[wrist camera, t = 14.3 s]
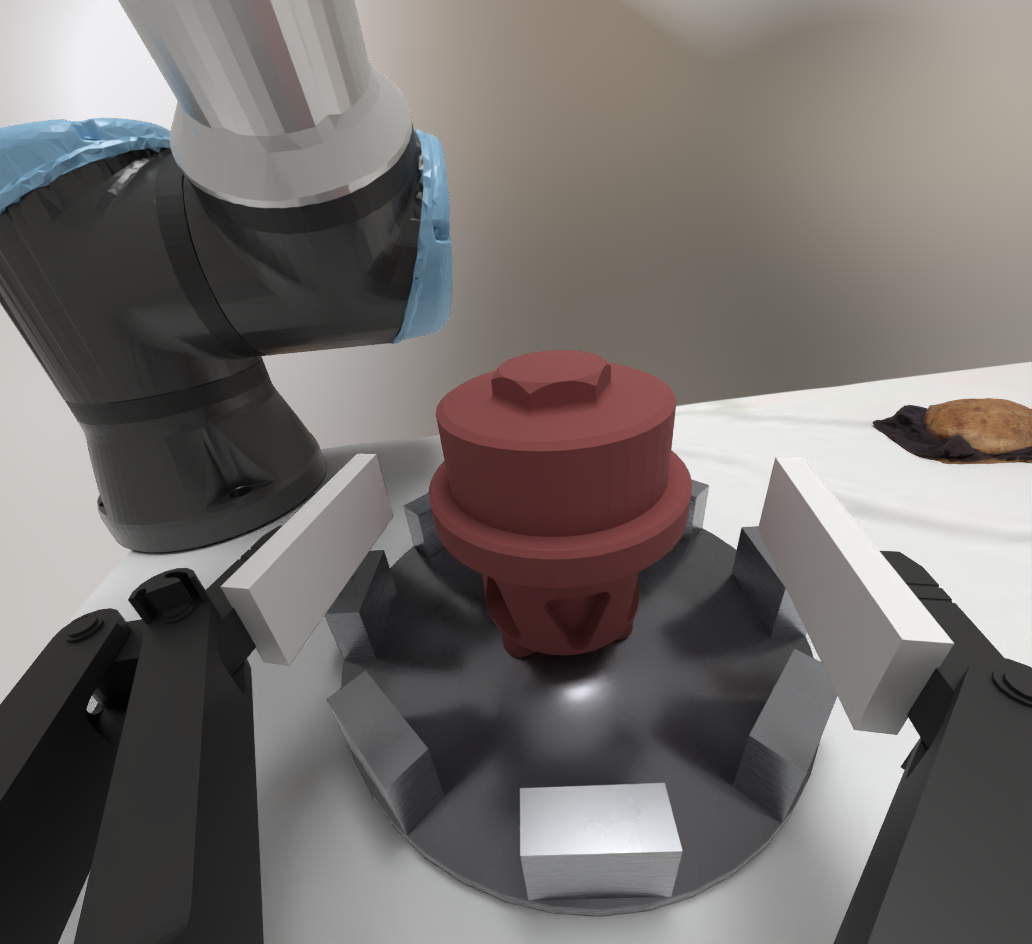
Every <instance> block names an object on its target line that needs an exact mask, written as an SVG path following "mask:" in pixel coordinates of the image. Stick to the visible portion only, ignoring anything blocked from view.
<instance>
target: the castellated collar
mask: <svg viewBox="0 0 1032 944" xmlns="http://www.w3.org/2000/svg"><path fill="white" fill-rule="evenodd" d="M691 481H692V495H691V501H690V508H689V515H688V520H687V525H686V528H685V530H684V532H683V535H682V537H681V539H680V540H679V541H678V542H677V544H676V545H675V546H674V547H673V549H672V550H670V551H669V552H668V553H667V554H666V555H665V556H663V557H662V558H661V559H660V560H658V561H657V562H655V563H653V564H652V565H650V566H648V567H647V568H645V569H643V570H641V571H640V572H639V575H638V585H639V605H638V609H637V613H636V616H635V618H634V620H633V630H632V632H631V634H630V635H629V636H628V637H626V638H624V639H619V640H614V641H613V642H611V643H610V644H608V645H606V646H604V647H602V648H599V649H597V650H595V651H591V652H587V653H582V654H576V655H550V654H545V653H540V652H535V653H533V654H531V655H528V656H525V657H515V656H512V655H510V654H509V653H508V652H506V650H505V648H504V645H503V640H502V633H501V631H500V630H499V629H498V627H497V626H496V625H495V623H494V622H493V620H492V618H491V616H490V614H489V612H488V607H487V602H486V596H485V590H484V584H483V577H482V574H481V573H479V572H476V571H475V570H473V569H471V568H470V567H468V566H466V565H464V564H463V563H461V562H460V561H459V560H458V559H456V558H455V557H454V556H453V555H452V554H450V553H449V551H448V550H447V549H446V548H445V546H444V545H443V544H442V543H441V541H440V539H439V537H438V535H437V533H436V529H435V524H434V520H433V516H432V511H431V507H430V503H429V493H427V494H426V495H424V496H422V497H420V498H418V499H416V500H414V501H412V502H410V503H408V504H407V505H405V506H404V510H405V514H406V518H407V522H408V526H409V529H410V533H411V537H412V541H413V545H414V547H413V548H412V549H410V550H409V551H408V552H407V553H405V554H404V555H403V556H402V557H401V558H400V559H399V560H398V561H397V562H396V563H395V564H394V565H393V566H392V567H391V568H389V565H388V562H387V559H386V555H385V552H384V550H378V551H369V552H368V553H367V555H366V556H365V558H364V559H363V561H362V562H361V563H360V565H359V566H358V568H357V569H356V571H355V572H354V573H353V575H352V576H351V578H350V579H349V581H348V582H347V584H346V585H345V586H344V588H343V589H342V591H341V592H340V594H339V595H338V596H337V598H336V599H335V601H334V602H333V604H332V605H331V606H330V608H329V609H328V611H327V612H326V614H325V618H326V620H327V622H328V625H329V627H330V629H331V632H332V634H333V636H334V638H335V641H336V643H337V645H338V648H339V650H340V652H341V655H342V657H343V659H344V664H343V670H342V688H341V689H340V690H339V691H337V692H336V693H334V694H333V695H332V696H330V697H329V698H328V699H326V700H327V702H328V704H329V706H330V708H331V710H332V712H333V714H334V716H335V718H336V720H337V722H338V724H339V726H340V728H341V730H342V732H343V734H344V736H345V738H346V740H347V742H348V744H349V746H350V748H351V751H352V754H353V757H354V760H355V763H356V765H357V767H358V769H359V771H360V773H361V774H362V776H363V778H364V780H365V782H366V784H367V786H368V788H369V790H370V792H371V794H372V796H373V798H374V800H375V801H376V803H377V804H378V805H379V807H380V808H381V809H382V811H383V812H384V813H385V815H386V816H387V817H388V819H389V820H390V821H391V823H392V824H393V825H394V827H395V828H396V829H397V831H398V832H399V833H400V834H401V835H402V836H403V837H404V838H406V839H407V840H408V841H409V842H410V843H411V844H412V845H413V846H414V847H415V848H416V849H417V850H418V851H419V852H420V853H421V854H423V855H424V856H425V857H426V858H427V859H428V860H430V861H431V862H433V863H434V864H436V865H437V866H439V867H440V868H442V869H443V870H445V871H446V872H448V873H449V874H451V875H452V876H454V877H455V878H457V879H458V880H460V881H461V882H463V883H464V884H467V885H469V886H471V887H474V888H476V889H478V890H480V891H483V892H485V893H487V894H490V895H492V896H494V897H496V898H499V899H501V900H503V901H505V902H509V903H513V904H517V905H522V906H526V907H530V908H534V909H538V910H542V911H546V912H550V913H560V914H576V915H591V916H605V915H614V914H623V913H631V912H640V911H648V910H651V909H655V908H658V907H661V906H664V905H667V904H671V903H674V902H677V901H680V900H683V899H687V898H690V897H693V896H695V895H697V894H698V893H700V892H702V891H704V890H706V889H708V888H710V887H711V886H713V885H715V884H717V883H719V882H721V881H723V880H724V879H726V878H728V877H730V876H732V875H733V874H734V873H735V872H737V871H738V870H739V869H740V868H741V867H743V866H744V865H745V864H746V863H747V862H749V861H750V860H751V859H752V858H753V857H755V856H756V855H757V854H758V853H759V852H761V851H762V850H763V849H764V848H765V847H766V846H767V844H768V843H769V842H770V841H771V839H772V838H773V837H774V836H775V834H776V833H777V832H778V831H779V829H780V828H781V827H782V826H783V824H784V823H785V822H786V821H787V819H788V818H789V816H790V815H791V813H792V811H793V809H794V807H795V805H796V803H797V801H798V799H799V797H800V795H801V793H802V791H803V789H804V787H805V785H806V783H807V781H808V779H809V777H810V775H811V771H812V767H813V764H814V760H815V757H816V753H817V749H818V746H819V742H820V738H821V736H822V733H823V731H824V728H825V726H826V723H827V721H828V718H829V716H830V713H831V711H832V708H833V705H834V703H835V700H836V698H837V693H836V691H835V689H834V687H833V685H832V683H831V681H830V679H829V677H828V674H827V672H826V670H825V668H824V666H823V664H822V662H820V661H818V660H816V659H814V658H813V654H812V651H811V648H810V646H809V644H808V641H807V639H806V637H805V636H806V633H807V631H806V629H805V627H804V625H803V623H802V620H801V618H800V616H799V614H798V612H797V610H796V608H795V606H794V604H793V602H792V600H791V598H790V596H789V593H788V591H787V589H786V587H785V585H784V583H783V581H782V579H781V577H780V575H779V573H778V571H777V569H776V566H775V564H774V562H773V560H772V558H771V556H770V554H769V552H768V550H767V548H766V546H765V544H764V542H763V539H762V537H761V535H760V533H759V531H758V527H759V526H756V527H742V528H741V533H740V538H739V542H738V547H737V550H735V549H734V548H733V547H732V546H730V545H729V544H727V543H726V542H724V541H723V540H721V539H720V538H718V537H717V536H715V535H714V534H712V533H710V532H708V531H706V530H704V529H703V528H702V526H703V520H704V514H705V507H706V501H707V495H708V489H709V485H707V484H704V483H700V482H697V481H694V480H691Z"/></svg>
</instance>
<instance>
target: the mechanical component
mask: <svg viewBox="0 0 1032 944" xmlns="http://www.w3.org/2000/svg"><path fill="white" fill-rule="evenodd" d="M675 409H676V397H675V393H674V392H673V390H672V389H671V388H670V387H669V386H668V385H667V384H666V383H664V382H663V381H661V380H659V379H658V378H656V377H654V376H652V375H650V374H648V373H645V372H643V371H640V370H637V369H634V368H630V367H626V366H622V365H617V364H611V363H607V362H606V361H605V360H604V359H603V358H602V357H600V356H598V355H595V354H592V353H587V352H581V351H568V350H557V351H543V352H536V353H530V354H525V355H521V356H518V357H514V358H512V359H509V360H507V361H505V362H504V363H502V364H501V365H500V366H499V367H498V369H497V370H496V371H492V372H489V373H486V374H483V375H480V376H478V377H475V378H473V379H471V380H469V381H467V382H465V383H463V384H461V385H460V386H458V387H456V388H455V389H453V390H452V391H451V392H449V393H448V394H447V395H446V396H445V397H444V398H443V399H442V400H441V401H440V403H439V404H438V406H437V410H436V417H437V422H438V428H439V433H440V439H441V444H442V449H443V455H444V460H445V461H444V462H443V463H442V464H441V465H440V466H439V468H438V469H437V471H436V472H435V474H434V475H433V478H432V480H431V482H430V487H429V503H430V507H431V511H432V516H433V520H434V524H435V529H436V533H437V535H438V537H439V539H440V541H441V543H442V544H443V545H444V546H445V548H446V549H447V550H448V551H449V553H450V554H452V555H453V556H454V557H455V558H456V559H458V560H459V561H460V562H461V563H463V564H464V565H466V566H468V567H470V568H471V569H473V570H475V571H476V572H479V573H481V574H482V577H483V584H484V590H485V596H486V602H487V607H488V612H489V614H490V616H491V618H492V620H493V622H494V623H495V625H496V626H497V627H498V629H499V630H500V631H501V633H502V640H503V645H504V648H505V650H506V652H508V653H509V654H510V655H512V656H515V657H525V656H528V655H531V654H533V653H535V652H540V653H545V654H550V655H576V654H582V653H587V652H591V651H595V650H597V649H599V648H602V647H604V646H606V645H608V644H610V643H611V642H613V641H614V640H619V639H624V638H626V637H628V636H629V635H630V634H631V632H632V630H633V620H634V618H635V616H636V613H637V609H638V605H639V585H638V575H639V572H640V571H641V570H643V569H645V568H647V567H648V566H650V565H652V564H653V563H655V562H657V561H658V560H660V559H661V558H662V557H663V556H665V555H666V554H667V553H668V552H669V551H670V550H672V549H673V547H674V546H675V545H676V544H677V542H678V541H679V540H680V539H681V537H682V535H683V532H684V530H685V528H686V525H687V520H688V515H689V508H690V501H691V495H692V481H691V477H690V473H689V471H688V469H687V468H686V466H685V464H684V463H683V461H682V460H681V459H680V458H679V457H678V456H677V455H676V454H675V453H674V452H673V451H672V450H671V447H672V437H673V428H674V419H675Z"/></svg>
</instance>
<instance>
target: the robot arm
mask: <svg viewBox="0 0 1032 944" xmlns="http://www.w3.org/2000/svg"><path fill="white" fill-rule="evenodd" d="M119 2H120V4H121V6H122V7H123V9H124V11H125V12H126V14H127V16H128V17H129V19H130V21H131V22H132V24H133V26H134V27H135V29H136V31H137V32H138V34H139V36H140V38H141V39H142V41H143V43H144V44H145V46H146V48H147V49H148V51H149V53H150V54H151V56H152V58H153V59H154V61H155V63H156V64H157V66H158V68H159V70H160V71H161V73H162V75H163V76H164V78H165V80H166V81H167V83H168V85H169V86H170V88H171V90H172V91H173V93H174V95H175V96H176V98H177V100H178V103H177V107H176V111H175V115H174V119H173V123H172V127H171V131H169V130H168V129H166V128H163V127H161V126H158V125H156V124H152V123H148V122H143V121H136V120H129V119H118V118H95V119H88V120H85V121H77V122H76V121H74V122H71V121H67V120H48V121H40V122H32V123H26V124H20V125H14V126H8V127H3V128H0V303H1V305H2V306H3V308H4V309H5V311H6V313H7V314H8V316H9V317H10V318H11V320H12V322H13V323H14V325H15V326H16V328H17V329H18V331H19V332H20V334H21V335H22V337H23V338H24V340H25V341H26V343H27V344H28V346H29V347H30V349H31V350H32V352H33V353H34V355H35V357H36V358H37V359H38V361H39V362H40V364H41V366H42V367H43V369H44V370H45V372H46V373H47V375H48V376H49V378H50V379H51V381H52V382H53V384H54V385H55V387H56V388H57V390H58V391H59V393H60V394H61V396H62V397H63V399H64V400H65V402H66V403H67V405H68V406H69V408H70V409H71V411H72V413H73V414H74V416H75V417H76V419H77V421H78V422H79V424H80V426H81V427H82V429H83V431H84V433H85V436H86V439H87V444H88V450H89V454H90V459H91V463H92V467H93V471H94V475H95V478H96V482H97V486H98V489H99V493H100V496H99V498H98V501H97V503H98V511H99V514H100V517H101V519H102V520H103V522H104V523H105V525H106V526H107V528H108V529H109V531H110V532H111V533H112V535H113V536H114V538H115V539H116V541H117V542H118V543H119V544H120V545H122V546H124V547H126V548H128V549H131V550H135V551H141V552H169V551H178V550H185V549H190V548H195V547H200V546H204V545H208V544H212V543H215V542H219V541H222V540H225V539H228V538H231V537H234V536H237V535H240V534H242V533H245V532H247V531H250V530H252V529H254V528H257V527H259V526H261V525H263V524H265V523H267V522H269V521H271V520H273V519H275V518H277V517H279V516H281V515H282V514H284V513H286V512H287V511H289V510H290V509H292V508H293V507H295V506H296V505H298V504H299V503H301V502H302V501H303V500H304V499H306V498H307V497H308V496H309V495H310V494H311V493H312V492H313V491H314V490H315V489H316V488H317V487H318V486H319V484H320V483H321V481H322V480H323V478H324V476H325V472H326V464H325V461H324V459H323V456H322V453H321V450H320V447H319V445H318V443H317V441H316V439H315V438H314V437H313V435H312V434H311V433H310V432H309V431H308V430H307V428H306V427H305V426H304V424H303V423H302V422H301V420H300V419H299V418H298V416H297V415H296V414H295V413H294V411H293V410H292V409H291V408H290V406H289V405H288V404H287V403H286V401H285V400H284V399H283V398H282V396H281V395H280V394H279V393H278V391H277V390H276V389H275V387H274V386H273V384H272V382H271V380H270V377H269V375H268V372H267V370H266V367H265V365H264V362H263V359H262V356H266V355H276V354H286V353H296V352H306V351H316V350H326V349H336V348H345V347H355V346H366V345H375V344H386V343H392V344H395V343H399V342H401V341H402V340H405V339H410V338H415V337H420V336H426V335H431V334H434V333H436V332H438V331H439V330H441V329H442V328H443V327H444V326H445V324H446V323H447V321H448V319H449V316H450V311H451V304H452V245H451V237H450V234H449V231H450V205H449V192H448V181H447V172H446V164H445V158H444V153H443V148H442V145H441V143H440V141H439V139H438V138H437V137H436V136H434V135H432V134H426V133H425V132H420V130H416V131H415V132H414V130H413V124H412V117H411V112H410V108H409V105H408V103H407V101H406V98H405V96H404V95H403V93H402V91H401V90H400V89H399V88H398V87H397V86H396V85H395V84H394V83H393V82H392V81H391V80H390V79H389V78H387V77H386V76H385V75H384V74H383V73H381V72H380V71H379V70H378V69H377V68H375V67H374V66H373V65H372V64H371V63H369V61H368V57H367V53H366V48H365V44H364V40H363V36H362V31H361V27H360V22H359V18H358V14H357V10H356V5H355V1H354V0H119ZM392 517H393V513H392V509H391V506H390V502H389V498H388V495H387V491H386V487H385V484H384V480H383V477H382V473H381V469H380V466H379V462H378V458H377V455H376V454H356V455H355V456H354V457H353V458H352V459H351V460H350V461H349V462H348V463H347V464H346V465H345V466H344V467H343V468H342V469H341V470H340V471H339V472H338V473H337V474H336V475H335V476H334V477H333V478H332V479H330V480H329V481H328V482H327V483H326V484H325V485H324V486H323V487H322V488H321V489H320V490H319V491H318V492H317V493H316V494H315V495H314V496H313V497H312V498H311V499H310V500H309V501H308V502H307V503H306V504H305V505H304V506H303V507H302V508H301V509H300V510H299V511H298V512H297V513H296V514H295V515H293V516H292V517H291V518H290V519H289V520H288V521H287V522H286V523H285V524H284V525H283V526H279V527H277V528H275V529H274V530H272V531H270V532H269V533H267V534H265V535H264V536H262V537H261V538H260V539H259V540H258V541H257V542H256V543H255V544H254V545H253V546H252V547H251V550H248V551H247V552H246V553H244V554H243V555H242V556H241V559H240V560H237V561H236V562H235V563H234V564H233V565H232V566H231V567H230V568H229V569H228V570H227V571H225V572H224V573H223V574H222V575H221V576H220V577H219V578H218V579H217V580H216V581H215V582H214V583H213V584H212V585H211V586H210V587H209V588H207V589H206V590H205V589H204V587H203V586H202V584H201V583H200V581H199V579H198V578H197V576H196V574H195V573H194V571H193V570H190V569H188V568H177V569H173V570H169V571H165V572H163V573H161V574H158V575H156V576H154V577H152V578H150V579H149V580H147V581H146V582H144V583H142V584H141V585H140V586H139V587H138V588H137V589H135V590H134V591H133V592H132V594H131V596H130V597H129V599H128V600H129V602H130V603H131V604H132V606H133V607H134V609H135V610H136V611H137V613H138V614H139V615H140V617H141V618H142V619H141V620H135V621H130V622H126V621H125V619H124V618H123V617H122V615H121V614H120V613H119V612H118V610H115V609H111V608H110V609H102V610H98V611H95V612H92V613H88V614H85V615H83V616H81V617H79V618H77V619H75V620H73V621H72V622H71V623H70V624H68V625H67V626H65V627H64V628H63V629H61V630H60V631H59V632H58V633H57V634H56V635H55V636H54V637H53V638H52V640H51V641H50V642H49V643H48V645H47V646H46V647H45V648H44V650H43V651H42V652H41V653H40V655H39V656H38V657H37V659H36V660H35V661H34V662H33V664H32V665H31V666H30V667H29V669H28V670H27V671H26V673H25V674H24V675H23V676H22V678H21V679H20V680H19V682H18V683H17V684H16V685H15V687H14V688H13V689H12V690H11V692H10V693H9V694H8V695H7V697H6V698H5V699H4V701H3V702H2V703H1V704H0V944H58V942H59V940H60V937H61V935H62V933H63V931H64V928H65V926H66V924H67V922H68V919H69V917H70V915H71V912H72V910H73V908H74V906H75V903H76V901H77V899H78V897H79V894H80V892H81V890H82V887H83V885H84V883H85V881H86V878H87V876H88V874H89V872H90V875H89V879H88V883H87V888H86V892H85V897H84V901H83V905H82V910H81V914H80V919H79V923H78V927H77V932H76V936H75V941H74V944H264V941H263V919H262V897H261V875H260V853H259V831H258V810H257V788H256V766H255V744H254V722H253V700H252V678H251V667H250V664H249V662H248V660H247V658H248V656H249V655H250V654H251V653H252V651H253V650H254V649H255V648H256V649H257V651H258V653H259V655H260V656H261V658H262V660H263V662H264V663H273V664H282V665H290V664H291V662H292V661H293V660H294V658H295V657H296V655H297V654H298V652H299V651H300V650H301V648H302V647H303V645H304V644H305V642H306V641H307V639H308V638H309V637H310V635H311V634H312V632H313V631H314V629H315V628H316V627H317V625H318V624H319V622H320V621H321V619H322V618H323V617H324V615H325V614H326V612H327V611H328V609H329V608H330V606H331V605H332V604H333V602H334V601H335V599H336V598H337V596H338V595H339V594H340V592H341V591H342V589H343V588H344V586H345V585H346V584H347V582H348V581H349V579H350V578H351V576H352V575H353V573H354V572H355V571H356V569H357V568H358V566H359V565H360V563H361V562H362V561H363V559H364V558H365V556H366V555H367V553H368V552H369V550H370V549H371V548H372V546H373V545H374V543H375V542H376V540H377V539H378V538H379V536H380V535H381V533H382V532H383V530H384V529H385V528H386V526H387V525H388V523H389V522H390V520H391V519H392ZM758 531H759V533H760V535H761V537H762V539H763V542H764V544H765V546H766V548H767V550H768V552H769V554H770V556H771V558H772V560H773V562H774V564H775V566H776V569H777V571H778V573H779V575H780V577H781V579H782V581H783V583H784V585H785V587H786V589H787V591H788V593H789V596H790V598H791V600H792V602H793V604H794V606H795V608H796V610H797V612H798V614H799V616H800V618H801V620H802V623H803V625H804V627H805V629H806V631H807V633H808V635H809V637H810V639H811V641H812V643H813V645H814V647H815V650H816V652H817V654H818V656H819V658H820V660H821V662H822V664H823V666H824V668H825V670H826V672H827V674H828V677H829V679H830V681H831V683H832V685H833V687H834V689H835V691H836V693H837V695H838V697H839V699H840V701H841V704H842V706H843V708H844V710H845V712H846V714H847V716H848V718H849V720H850V722H851V724H852V726H853V728H854V730H860V731H868V732H877V733H886V734H895V735H897V734H898V733H899V731H900V729H901V728H902V726H903V725H904V723H905V721H906V720H907V718H908V717H909V719H910V721H911V722H912V724H913V726H914V727H915V729H916V730H917V732H918V734H919V735H920V737H921V738H920V739H919V740H918V742H917V743H916V745H915V746H914V748H913V749H912V751H911V752H910V754H909V755H908V757H907V758H906V760H905V761H904V763H903V764H902V766H901V768H903V769H904V770H905V771H904V773H903V776H902V778H901V781H900V783H899V786H898V788H897V790H896V793H895V795H894V798H893V800H892V803H891V805H890V807H889V810H888V812H887V815H886V817H885V820H884V822H883V825H882V827H881V829H880V832H879V834H878V837H877V839H876V842H875V844H874V846H873V849H872V851H871V854H870V856H869V859H868V861H867V864H866V866H865V868H864V871H863V873H862V876H861V878H860V881H859V883H858V885H857V888H856V890H855V893H854V895H853V898H852V900H851V903H850V905H849V907H848V910H847V912H846V915H845V917H844V920H843V922H842V925H841V927H840V929H839V932H838V934H837V937H836V939H835V942H834V944H1032V668H1031V667H1029V666H1027V665H1024V664H1021V663H1018V662H1016V661H1013V660H1010V659H1005V658H1004V657H1003V656H1002V655H1001V654H1000V653H999V651H998V650H997V649H996V648H995V647H994V646H993V645H992V644H991V643H990V641H989V640H988V639H987V638H986V637H985V636H984V635H983V634H982V633H981V631H980V630H979V629H978V628H977V627H976V626H975V625H974V624H973V622H972V621H971V620H970V619H969V618H968V617H967V616H966V615H965V614H964V612H963V611H962V610H961V609H960V608H959V607H958V606H957V605H956V604H955V603H952V599H951V598H950V597H949V596H948V595H947V593H946V592H945V591H944V590H943V589H942V588H939V585H938V583H937V582H936V581H935V580H934V579H933V578H932V577H931V576H930V574H929V573H928V572H927V571H926V570H925V569H924V568H923V567H922V566H920V565H919V564H917V563H916V562H914V561H913V560H911V559H910V558H908V557H907V556H905V555H904V554H902V553H901V552H893V551H879V550H878V549H877V547H876V546H875V545H874V544H873V543H872V541H871V540H870V539H869V538H868V536H867V535H866V534H865V533H864V531H863V530H862V529H861V528H860V526H859V525H858V524H857V523H856V522H855V520H854V519H853V518H852V517H851V515H850V514H849V513H848V512H847V510H846V509H845V508H844V507H843V506H842V504H841V503H840V502H839V501H838V499H837V498H836V497H835V496H834V494H833V493H832V492H831V491H830V489H829V488H828V487H827V486H826V485H825V483H824V482H823V481H822V480H821V478H820V477H819V476H818V475H817V473H816V472H815V471H814V470H813V468H812V467H811V466H810V465H809V464H808V462H807V461H806V460H805V459H804V457H775V462H774V466H773V470H772V474H771V478H770V482H769V486H768V490H767V495H766V499H765V503H764V507H763V511H762V515H761V519H760V523H759V527H758ZM91 696H93V697H94V698H95V699H96V700H97V702H98V704H97V706H96V708H95V709H94V711H93V712H92V713H89V712H88V711H87V705H88V703H89V700H90V698H91ZM90 869H91V870H90Z"/></svg>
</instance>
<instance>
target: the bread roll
mask: <svg viewBox="0 0 1032 944" xmlns="http://www.w3.org/2000/svg"><path fill="white" fill-rule="evenodd" d="M873 424H874V426H873V427H874V428H875V429H877V430H878V431H880V432H882V433H884V434H885V435H886V436H887V437H889V438H891V439H892V440H894V441H895V442H896V443H897V444H898V445H899V446H901V447H902V448H904V449H905V450H907V451H908V452H910V453H913V454H915V455H918V456H921V457H924V458H927V459H930V460H936V461H940V462H942V463H945V464H982V463H983V464H993V463H1009V462H1020V461H1025V462H1028V463H1030V462H1032V409H1029V408H1028V407H1026V406H1023V405H1021V404H1018V403H1015V402H1012V401H1009V400H1003V399H991V398H987V399H961V400H954V401H949V402H946V403H942V404H937V405H930V406H929V408H928V409H927V408H923V407H919V406H913V405H908V406H904V407H902V408H901V409H900V410H899V411H897V412H896V414H895V415H894V416H892V417H890V418H886V419H884V420H876V421H874V422H873Z"/></svg>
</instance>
